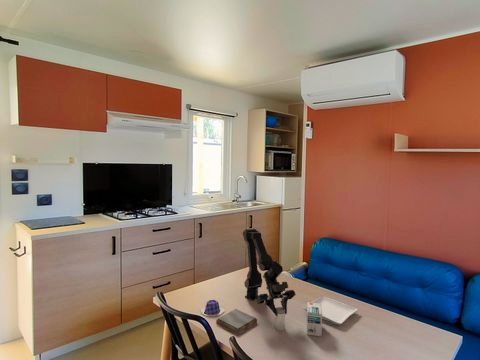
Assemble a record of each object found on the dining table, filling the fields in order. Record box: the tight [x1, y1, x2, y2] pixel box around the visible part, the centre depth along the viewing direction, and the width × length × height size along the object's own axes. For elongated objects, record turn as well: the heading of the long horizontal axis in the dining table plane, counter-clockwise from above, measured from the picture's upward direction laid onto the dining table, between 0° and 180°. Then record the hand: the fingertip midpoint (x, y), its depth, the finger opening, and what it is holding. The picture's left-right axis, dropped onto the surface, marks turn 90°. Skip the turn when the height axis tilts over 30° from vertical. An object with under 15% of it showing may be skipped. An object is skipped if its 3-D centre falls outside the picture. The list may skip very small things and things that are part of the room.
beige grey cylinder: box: [274, 306, 286, 331], centre depth 146 cm, size 4×4×9 cm
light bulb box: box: [306, 301, 323, 337], centre depth 145 cm, size 11×7×11 cm, turn 168°
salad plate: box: [302, 295, 359, 326], centre depth 161 cm, size 21×21×3 cm
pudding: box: [200, 299, 225, 317], centre depth 160 cm, size 12×12×5 cm
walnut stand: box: [215, 308, 258, 336], centre depth 149 cm, size 14×14×2 cm
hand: (281, 314), depth 144 cm, fingers closed on beige grey cylinder, 4 cm apart
